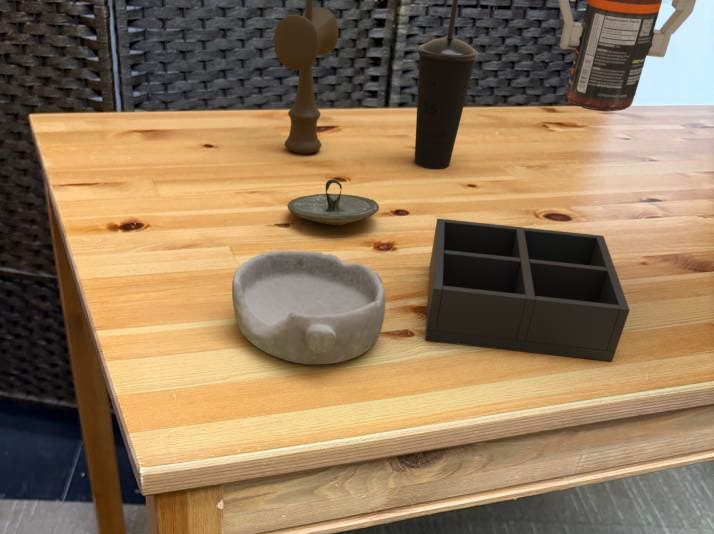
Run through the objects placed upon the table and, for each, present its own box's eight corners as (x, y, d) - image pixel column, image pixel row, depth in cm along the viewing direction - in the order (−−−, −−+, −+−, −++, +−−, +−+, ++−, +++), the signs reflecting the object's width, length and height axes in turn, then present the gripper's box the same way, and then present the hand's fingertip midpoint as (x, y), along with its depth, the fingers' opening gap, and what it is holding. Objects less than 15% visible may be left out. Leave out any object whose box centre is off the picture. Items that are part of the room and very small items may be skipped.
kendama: (269, 156, 110) (273, -21, 97) (294, 137, 117) (301, -30, 104) (311, 163, 109) (320, -15, 96) (334, 144, 116) (345, -25, 103)
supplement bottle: (571, 91, 76) (608, -57, 69) (636, 102, 74) (680, -49, 67) (556, 105, 72) (593, -51, 65) (624, 117, 70) (670, -42, 63)
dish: (339, 387, 67) (344, 332, 64) (200, 340, 72) (198, 286, 68) (410, 320, 77) (417, 269, 73) (283, 282, 81) (285, 233, 78)
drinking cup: (411, 151, 116) (433, -18, 102) (464, 159, 114) (493, -11, 101) (397, 166, 110) (419, -10, 97) (453, 175, 108) (482, -3, 95)
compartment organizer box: (589, 282, 85) (603, 235, 82) (612, 361, 73) (629, 309, 69) (429, 265, 86) (437, 218, 83) (425, 340, 74) (433, 288, 71)
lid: (333, 257, 90) (348, 216, 86) (267, 211, 92) (278, 169, 89) (384, 235, 97) (399, 195, 93) (321, 192, 99) (333, 152, 96)
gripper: (530, -168, 60) (492, 48, 69) (818, -147, 58) (739, 70, 67) (525, -169, 64) (490, 33, 74) (791, -149, 63) (721, 54, 72)
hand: (611, 51), depth 71 cm, fingers closed on supplement bottle, 6 cm apart
